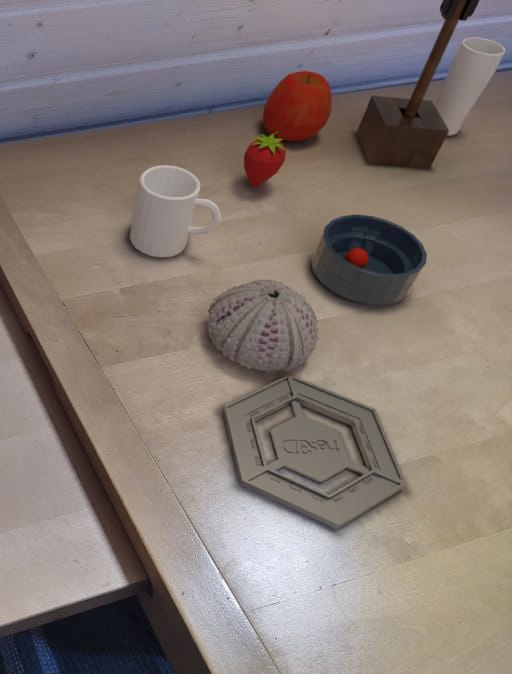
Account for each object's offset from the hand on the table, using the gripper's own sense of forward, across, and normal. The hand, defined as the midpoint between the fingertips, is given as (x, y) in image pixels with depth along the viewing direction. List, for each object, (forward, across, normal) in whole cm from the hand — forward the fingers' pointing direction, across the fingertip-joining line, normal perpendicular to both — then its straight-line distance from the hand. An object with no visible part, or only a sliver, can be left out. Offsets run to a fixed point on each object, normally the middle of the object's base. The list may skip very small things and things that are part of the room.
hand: (453, 17), depth 106 cm
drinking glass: (+22, +11, +9) cm, 26 cm away
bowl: (+22, -13, -35) cm, 43 cm away
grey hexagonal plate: (+22, -25, -66) cm, 74 cm away
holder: (+22, 0, 0) cm, 22 cm away
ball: (+20, -14, -34) cm, 42 cm away
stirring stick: (+17, 0, 0) cm, 17 cm away
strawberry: (+22, -25, -15) cm, 37 cm away
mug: (+22, -39, -32) cm, 55 cm away
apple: (+22, -17, +3) cm, 28 cm away
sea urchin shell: (+22, -29, -50) cm, 62 cm away
